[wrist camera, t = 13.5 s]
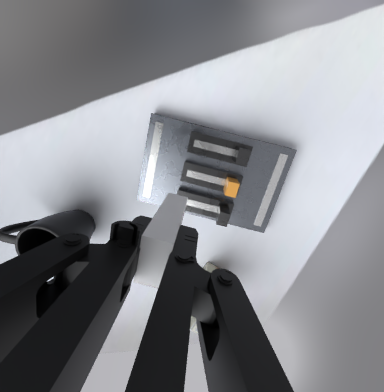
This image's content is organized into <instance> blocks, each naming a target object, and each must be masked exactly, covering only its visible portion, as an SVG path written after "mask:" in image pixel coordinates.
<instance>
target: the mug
mask: <svg viewBox="0 0 384 392" xmlns="http://www.w3.org/2000/svg"><path fill="white" fill-rule="evenodd" d="M94 230H95V222H94V220H93V218H92V217H91V216H90V215H89V214H88V213H87V212H85V211H82V210H74V211H67V212H62V213H58V214H54V215H50V216H47V217H45V218H42V219H40V220H34V221H29V222H23V223H18V224H13V225H9V226H6V227H3V228H1V229H0V241H3V242H6V243H11V244H15V248H16V251H17V254H18V256H19V255H21V254H23V253H25V252H27V251H29V250H32V249H34V248H36V247H38V246H40V245H42V244H44V243H46V242H48V241H51V240H53V239H55V238H57V237H59V236H61V235H64V234H68V233H81V234H84V235H86V236H87V237H89V240H90V238H91V236H92V234H93V232H94ZM18 231H20V232H19V233H18V234H17V236H15V235H9V234H11V233H14V232H18Z"/></svg>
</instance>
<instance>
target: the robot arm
mask: <svg viewBox="0 0 384 392" xmlns="http://www.w3.org/2000/svg"><path fill="white" fill-rule="evenodd" d="M187 200H188V197H184V196H180V195H176V194H172V193H168V195H167V196H166V198H165V200H164V201H163V203H162V204H161V206H160V207H159V209H158V211H157V212H156V214H155V215H154V217H153V218H149V217H145V216H139V217H136V218H135V219H134V220H133V221H132V222H131V221H117V222H114V223H113V224H112V225H111V233H110V240H109V241H108V242H107V243H106V244H89V243H90V240H89V237H87V236H86V235H84V234H81V233H68V234H64V235H61V236H59V237H57V238H55V239H53V240H51V241H48V242H46V243H44V244H42V245H40V246H38V247H36V248H34V249H32V250H29V251H27V252H25V253H23V254H21V255H19V256H17V257H15V258H13V259H11V260H8V261H6V262H4V263H2V264H0V392H80V391H81V389H82V387H83V385H84V383H85V380H86V378H87V376H88V374H89V372H90V370H91V368H92V366H93V364H94V362H95V360H96V358H97V356H98V354H99V352H100V350H101V348H102V346H103V344H104V342H105V340H106V338H107V336H108V334H109V332H110V330H111V327H112V325H113V323H114V321H115V319H116V317H117V315H118V313H119V311H120V309H121V307H122V305H123V303H124V301H125V299H126V297H127V295H128V293H129V291H130V286H131V281H132V279H133V277H134V283H138V284H142V285H146V286H150V287H154V288H158V291H157V294H156V297H155V300H154V303H153V306H152V310H151V313H150V316H149V319H148V322H147V325H146V328H145V331H144V334H143V337H142V340H141V343H140V347H139V350H138V353H137V356H136V359H135V362H134V365H133V368H132V371H131V375H130V377H129V380H128V384H127V387H126V390H125V392H184V384H185V373H186V364H187V354H188V345H189V335H190V325H191V316H193V317H195V318H196V324H197V330H198V335H199V341H200V347H201V352H202V358H203V363H204V369H205V374H206V380H207V385H208V391H209V392H294V391H293V389H292V387H291V385H290V383H289V381H288V379H287V377H286V375H285V373H284V371H283V368H282V366H281V364H280V363H279V360H278V358H277V356H276V354H275V352H274V350H273V348H272V346H271V344H270V342H269V340H268V338H267V336H266V334H265V332H264V330H263V327H262V325H261V323H260V321H259V319H258V317H257V315H256V313H255V311H254V309H253V307H252V305H251V303H250V301H249V299H248V297H247V295H246V293H245V291H244V289H243V287H242V284H241V282H240V280H239V279H238V278H237V276H236V275H235V274H233V273H232V272H230V271H228V270H226V269H215V270H213V271H212V272H211V273H210V272H208V271H206V270H205V269H203V268H202V267H201V266H199V264H198V263H197V260H196V250H197V240H198V232H197V231H196V229H194V228H191V227H187V226H183V225H181V224H182V220H183V216H184V212H185V208H186V204H187ZM134 275H135V276H134ZM53 276H54V279H52V280H50V281H48V282H47V280H49V279H50V278H52V277H53Z"/></svg>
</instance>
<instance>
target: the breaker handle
mask: <svg viewBox="0 0 384 392" xmlns="http://www.w3.org/2000/svg"><path fill="white" fill-rule="evenodd" d="M239 185H240V184H239V182H238V180H237V179H234V178H230V177H227V179H226V182H225V186H224V189H223V190H224V194H225V195H226V196H230V197H234V198H236V194H237V191H238V188H239Z"/></svg>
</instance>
